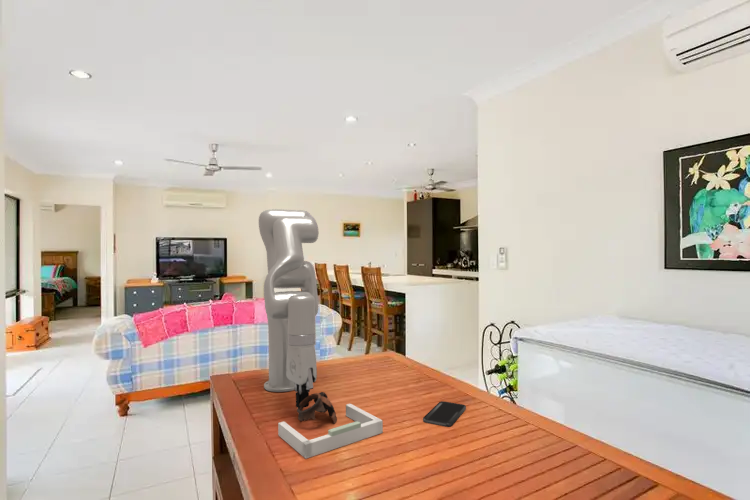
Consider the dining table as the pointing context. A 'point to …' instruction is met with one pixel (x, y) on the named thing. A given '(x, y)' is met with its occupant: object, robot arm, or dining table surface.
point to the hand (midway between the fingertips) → (302, 406)
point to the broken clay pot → (316, 407)
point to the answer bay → (334, 433)
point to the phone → (444, 414)
